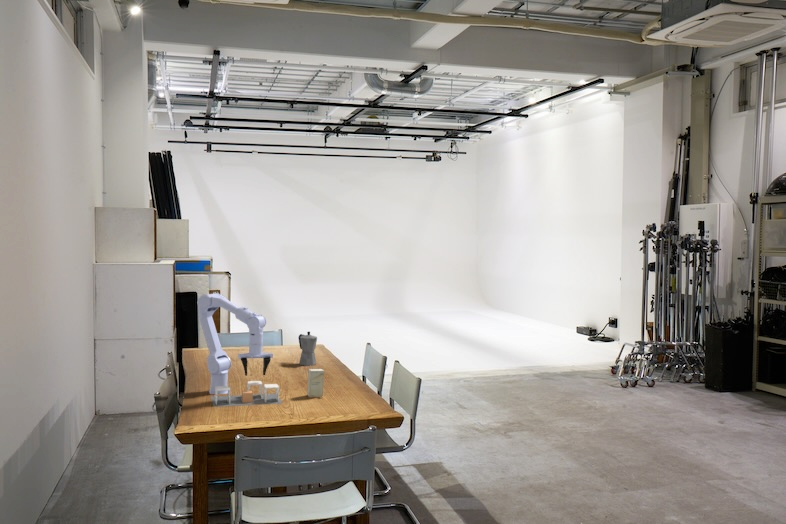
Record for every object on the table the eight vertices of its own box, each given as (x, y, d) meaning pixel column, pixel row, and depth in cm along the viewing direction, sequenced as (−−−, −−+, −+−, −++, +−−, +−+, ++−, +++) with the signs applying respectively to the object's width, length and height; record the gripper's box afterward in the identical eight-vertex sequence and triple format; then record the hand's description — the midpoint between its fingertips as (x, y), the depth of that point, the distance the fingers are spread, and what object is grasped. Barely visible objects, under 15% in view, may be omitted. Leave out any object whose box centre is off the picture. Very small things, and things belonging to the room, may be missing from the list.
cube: (241, 400, 278) (241, 391, 278) (251, 399, 280) (251, 390, 280) (242, 402, 275) (243, 393, 274) (252, 402, 276) (252, 392, 276)
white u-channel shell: (247, 395, 287) (247, 381, 287) (260, 394, 289) (260, 380, 289) (248, 398, 281) (249, 384, 281) (262, 398, 283) (262, 383, 283)
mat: (210, 397, 283) (210, 396, 283) (276, 394, 292) (276, 393, 292) (213, 408, 267) (213, 406, 267) (282, 404, 276) (282, 403, 276)
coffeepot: (322, 365, 360) (323, 332, 359) (308, 367, 354) (309, 333, 353) (305, 360, 371) (306, 328, 370) (291, 362, 365) (292, 330, 364)
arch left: (214, 401, 276) (215, 386, 276) (228, 400, 278) (229, 385, 277) (216, 404, 270) (216, 389, 270) (230, 404, 272) (230, 389, 272)
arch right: (263, 398, 282) (263, 384, 282) (276, 398, 284) (276, 383, 284) (265, 402, 277) (265, 387, 276) (278, 401, 279) (279, 387, 278)
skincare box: (309, 398, 288) (310, 371, 287) (307, 396, 292) (307, 369, 291) (323, 397, 290) (324, 370, 289) (320, 395, 294) (321, 368, 294)
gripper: (239, 345, 278) (238, 377, 279) (274, 344, 283) (273, 376, 283) (238, 342, 285) (237, 374, 285) (271, 342, 289) (270, 372, 290)
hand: (255, 374), depth 285 cm, fingers open, 7 cm apart
